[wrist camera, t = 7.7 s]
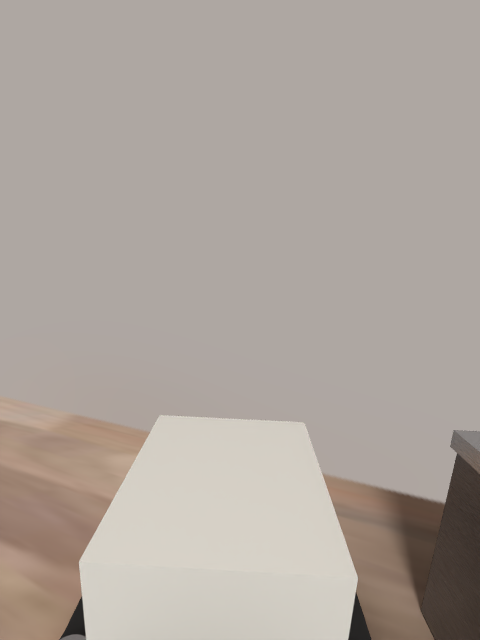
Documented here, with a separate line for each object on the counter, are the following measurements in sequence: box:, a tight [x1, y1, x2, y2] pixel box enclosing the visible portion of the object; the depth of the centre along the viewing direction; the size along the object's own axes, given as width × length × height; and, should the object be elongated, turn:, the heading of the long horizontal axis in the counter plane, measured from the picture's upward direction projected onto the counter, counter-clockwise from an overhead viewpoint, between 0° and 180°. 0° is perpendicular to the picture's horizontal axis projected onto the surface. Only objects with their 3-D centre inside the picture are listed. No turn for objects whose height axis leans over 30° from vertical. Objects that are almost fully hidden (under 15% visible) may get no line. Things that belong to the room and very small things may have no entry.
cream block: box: [79, 415, 358, 640], centre depth 9 cm, size 5×5×11 cm
